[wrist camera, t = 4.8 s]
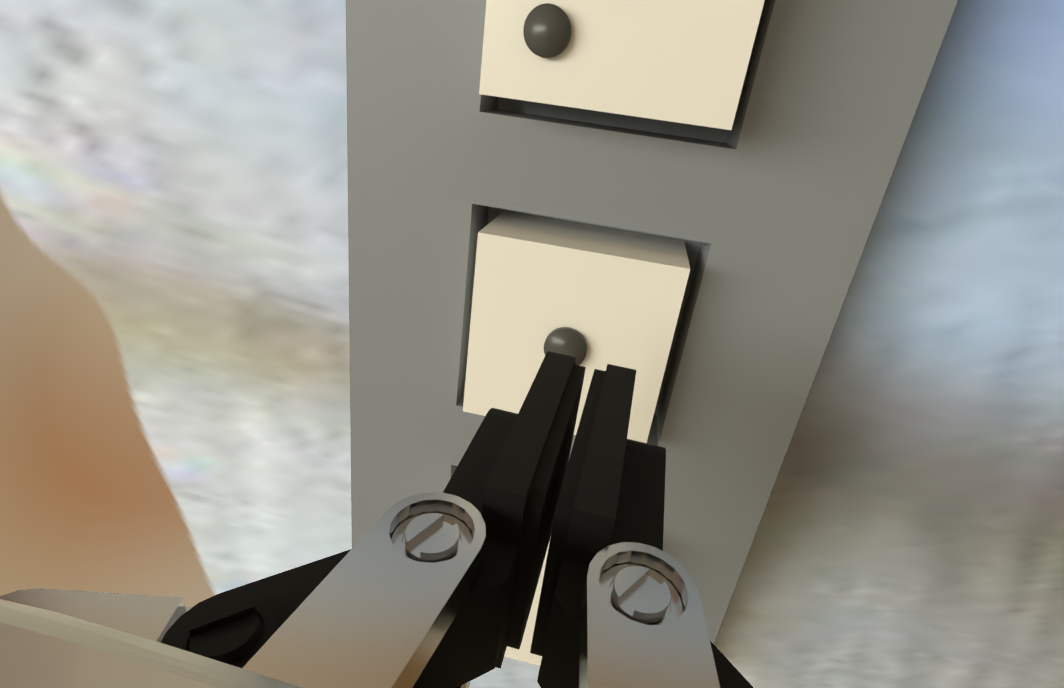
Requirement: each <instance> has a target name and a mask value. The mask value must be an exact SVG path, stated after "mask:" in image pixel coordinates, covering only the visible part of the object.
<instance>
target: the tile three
mask: <svg viewBox="0 0 1064 688" xmlns="http://www.w3.org/2000/svg"><path fill="white" fill-rule="evenodd" d="M764 1H765V0H486V12H485V25H484V38H483V50H482V63H481V76H480V89H479V94H482V95H489V96H496V97H503V98H510V99H517V100H524V101H531V102H538V103H545V104H552V105H559V106H566V107H573V108H580V109H587V110H594V111H601V112H608V113H615V114H621V115H628V116H635V117H642V118H649V119H656V120H663V121H670V122H677V123H684V124H691V125H698V126H705V127H712V128H719V129H726V130H732V126H733V122H734V118H735V114H736V110H737V106H738V103H739V99H740V95H741V91H742V87H743V83H744V79H745V75H746V71H747V67H748V64H749V60H750V56H751V52H752V48H753V44H754V40H755V36H756V32H757V28H758V24H759V21H760V17H761V13H762V9H763V5H764Z"/></svg>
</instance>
